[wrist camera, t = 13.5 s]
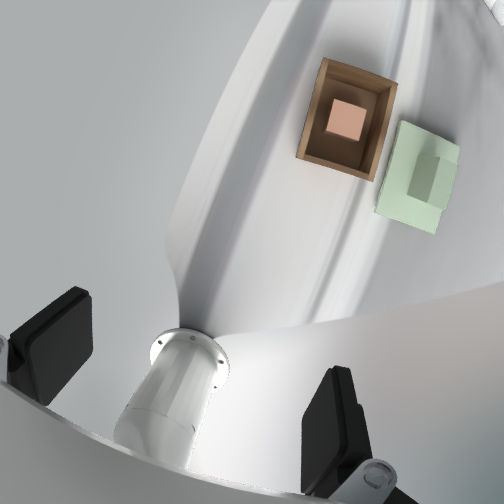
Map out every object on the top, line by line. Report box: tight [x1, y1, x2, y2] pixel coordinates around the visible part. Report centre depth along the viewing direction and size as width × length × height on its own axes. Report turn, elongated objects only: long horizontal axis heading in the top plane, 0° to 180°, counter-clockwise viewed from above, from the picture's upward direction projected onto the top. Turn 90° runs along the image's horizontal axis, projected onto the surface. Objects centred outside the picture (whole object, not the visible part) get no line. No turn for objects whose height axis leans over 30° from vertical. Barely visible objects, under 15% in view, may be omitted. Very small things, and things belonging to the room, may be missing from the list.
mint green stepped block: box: [374, 120, 460, 234], centre depth 30 cm, size 12×9×8 cm
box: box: [296, 57, 398, 182], centre depth 30 cm, size 11×8×6 cm
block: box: [322, 99, 367, 142], centre depth 31 cm, size 4×4×4 cm
